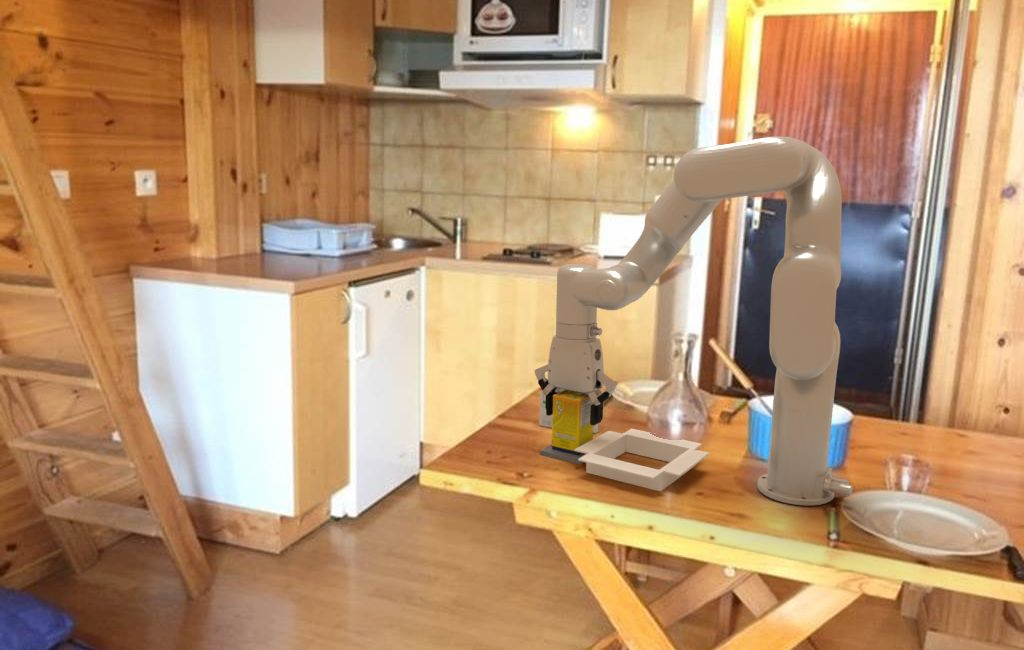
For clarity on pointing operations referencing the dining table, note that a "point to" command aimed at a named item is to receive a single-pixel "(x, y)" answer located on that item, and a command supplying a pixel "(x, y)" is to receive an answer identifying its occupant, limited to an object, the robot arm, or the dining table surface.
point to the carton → (644, 444)
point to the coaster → (561, 455)
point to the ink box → (544, 418)
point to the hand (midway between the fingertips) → (573, 418)
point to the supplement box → (571, 421)
